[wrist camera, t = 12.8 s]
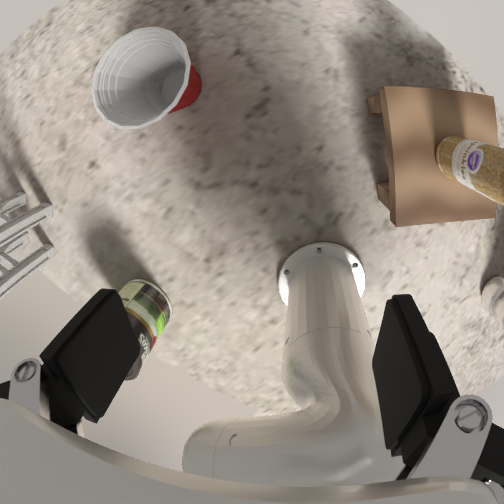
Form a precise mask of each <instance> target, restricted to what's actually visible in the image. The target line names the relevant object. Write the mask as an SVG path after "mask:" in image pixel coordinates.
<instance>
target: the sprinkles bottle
mask: <svg viewBox="0 0 504 504" xmlns="http://www.w3.org/2000/svg"><path fill="white" fill-rule="evenodd" d="M436 160H437V165H438V167H439V169H440V171H441V172H442V173H443V175H445V176H446V177H448V178H449V179H454V180H456V181H458V182H460V183H461V184H463V185H465V186H467V187H469V188H471V189H473V190H474V191H476V192H478V193H480V194H482V195H484V196H486V197H487V198H489V199H491V200H493V201H495V202H497V203H499V204H501V205H503V206H504V149H503V148H500V147H496V146H492V145H490V144H488V143H484V142H480V141H475V140H469V139H468V140H466V139H462V138H459V137H457V136H448V137H446V138H444V139H443V140H442V141H441V143H440V144H439V146H438V148H437V150H436Z"/></svg>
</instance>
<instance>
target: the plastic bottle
mask: <svg viewBox="0 0 504 504" xmlns="http://www.w3.org/2000/svg"><path fill="white" fill-rule="evenodd" d="M482 303H483V306H484V308H485V310H486V311H487V312H488V313H489V314H491V315H492V316H493V317H494V318H495V319H496V320H497V321H498V322H499V323H500V325H501V326H502V327H503V329H504V278H503V277H501V276H498V277H493V278H492V279H490V280H489V281H488V282H487V283H486V285H485V286H484V288H483V291H482Z"/></svg>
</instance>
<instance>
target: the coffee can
mask: <svg viewBox="0 0 504 504" xmlns="http://www.w3.org/2000/svg"><path fill="white" fill-rule="evenodd" d="M118 294H119V295H120V296H121V299H122V301H123V304H124V307H125V310H126V312H127V315H128V318H129V320H130V323H131V325H132V328H133V330H134V333H135V335H136V338H137V340H138V342H139V345H140V354H139V356H138V358H137V359H136V361H135V363H134V364H133V366H132V368H131V369H130V371H129V373H128V374H127V376H126V378H125V379H124V380H132V379H135V378H136V377H137V376H138V374H139V371H140V369H141V367H142V365H143V363H144V362H145V360H146V358H147V356H148V355H149V353H150V351H151V350H152V348H153V346H154V344H155V343H156V341H157V339H158V338H159V336H160V334H161V332H162V331H163V329H164V328H165V326H166V324H167V323H168V321H169V320H170V318H171V316H172V307H171V303H170V301H169V299H168V297H167V296H166V294H165V293H164V292H163V291H162V290H161V289H160V288H159V287H158V286H156V285H155V284H153V283H151V282H149V281H146V280H142V279H134V280H130V281H128V282H127V283H126V284H125V285H124V287H123V288H122V289H121V290H120V291H119V292H118Z"/></svg>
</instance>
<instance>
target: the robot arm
mask: <svg viewBox="0 0 504 504" xmlns="http://www.w3.org/2000/svg"><path fill="white" fill-rule="evenodd" d="M317 248H321V249H317ZM355 262H356V263H355ZM353 263H354V264H353ZM286 269H288V270H286ZM278 288H279V293H280V296H281V298H282V300H283V302H284V303H285V305H286V306H287V318H286V330H285V341H284V352H283V363H282V378H283V383H284V386H285V388H286V390H287V392H288V394H289V395H290V397H291V398H292V399H293V400H294V401H295V403H296V404H297V405H298V406H299V407H300V408H301V409H302V410H300V411H296V412H291V413H284V414H281V415H272V416H262V417H251V418H235V419H223V420H216V421H212V422H208V423H206V424H203V425H201V426H200V427H198V428H197V429H196V430H195V431H193V432H192V433H191V435H190V436H189V438H188V440H187V441H186V444H185V446H184V450H183V456H182V469H183V472H180V471H176V470H172V469H169V468H165V467H161V466H158V465H155V464H151V463H148V462H145V461H142V460H139V459H135V458H133V457H130V456H127V455H124V454H122V453H119V452H116V451H114V450H111V449H109V448H106V447H103V446H101V445H99V444H97V443H94V442H92V441H90V440H88V439H85V436H84V431H83V426H82V420H81V418H82V416H84V417H85V419H87V420H89V421H91V422H94V423H97V422H98V420H99V418H101V417H103V416H104V414H105V412H106V410H107V409H108V407H109V405H110V404H111V402H112V400H113V398H114V397H115V395H116V393H117V391H118V390H119V388H120V386H121V384H122V383H123V381H124V379H125V378H126V376H127V374H128V373H129V371H130V369H131V368H132V366H133V364H134V363H135V361H136V359H137V358H138V356H139V354H140V345H139V342H138V340H137V338H136V335H135V333H134V330H133V328H132V325H131V323H130V320H129V318H128V315H127V312H126V310H125V307H124V304H123V301H122V299H121V296H120V295H119V294H118V293H117V291H116V290H114V289H100V290H99V291H98V292H97V293H96V294H95V295H94V296H93V297H92V298H91V299H90V300H89V301H88V302H87V303H86V304H85V305H84V306H83V307H82V308H81V310H80V311H79V312H78V313H77V314H76V315H75V316H74V317H73V318H72V319H71V320H70V321H69V322H68V323H67V325H66V326H65V327H64V328H63V329H62V330H61V331H60V333H58V335H57V336H56V337H55V338H54V339H53V340H52V341H51V343H50V344H49V345H48V346H47V347H46V348H45V350H44V351H43V352H42V353H41V354H40V357H41V359H42V361H43V362H44V364H43V365H41V364H40V362H39V361H38V360H37V359H35V358H29V359H25V360H23V361H21V362H20V363H19V364H18V365H17V366H16V367H15V368H14V370H13V372H12V375H11V380H10V381H7V382H4V383H1V384H0V504H504V429H503V428H501V427H499V426H497V425H495V424H493V423H492V411H491V409H490V407H489V405H488V404H487V403H486V401H485V400H483V399H482V398H480V397H479V396H475V395H464V396H461V397H460V394H459V392H458V389H457V387H456V384H455V381H454V379H453V376H452V374H451V372H450V369H449V367H448V364H447V362H446V360H445V358H444V355H443V353H442V351H441V349H440V346H439V344H438V342H437V340H436V338H435V336H434V334H433V333H431V332H429V330H428V328H427V326H426V324H425V322H424V320H423V318H422V315H421V313H420V312H419V310H418V308H417V306H416V304H415V302H414V300H413V298H412V296H411V295H410V294H401V295H393V297H392V299H389V300H387V302H386V306H385V311H384V315H383V320H382V324H381V328H380V332H379V336H378V340H377V343H376V347H375V348H374V344H373V340H372V336H371V332H370V329H369V325H368V321H367V317H366V314H365V310H364V307H363V303H362V300H361V296H362V293H363V291H364V288H365V273H364V270H363V267H362V265H361V262H360V260H359V259H358V258H357V256H356V255H355V254H354V253H353V252H351V251H350V250H349V249H347V248H345V247H343V246H341V245H338V244H335V243H329V242H319V243H313V244H309V245H306V246H304V247H301V248H299V249H298V250H296V251H295V252H293V253H292V254H291V255H290V256H289V257H288V258H287V259H286V261H285V262H284V264H283V265H282V268H281V270H280V274H279V280H278Z"/></svg>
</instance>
